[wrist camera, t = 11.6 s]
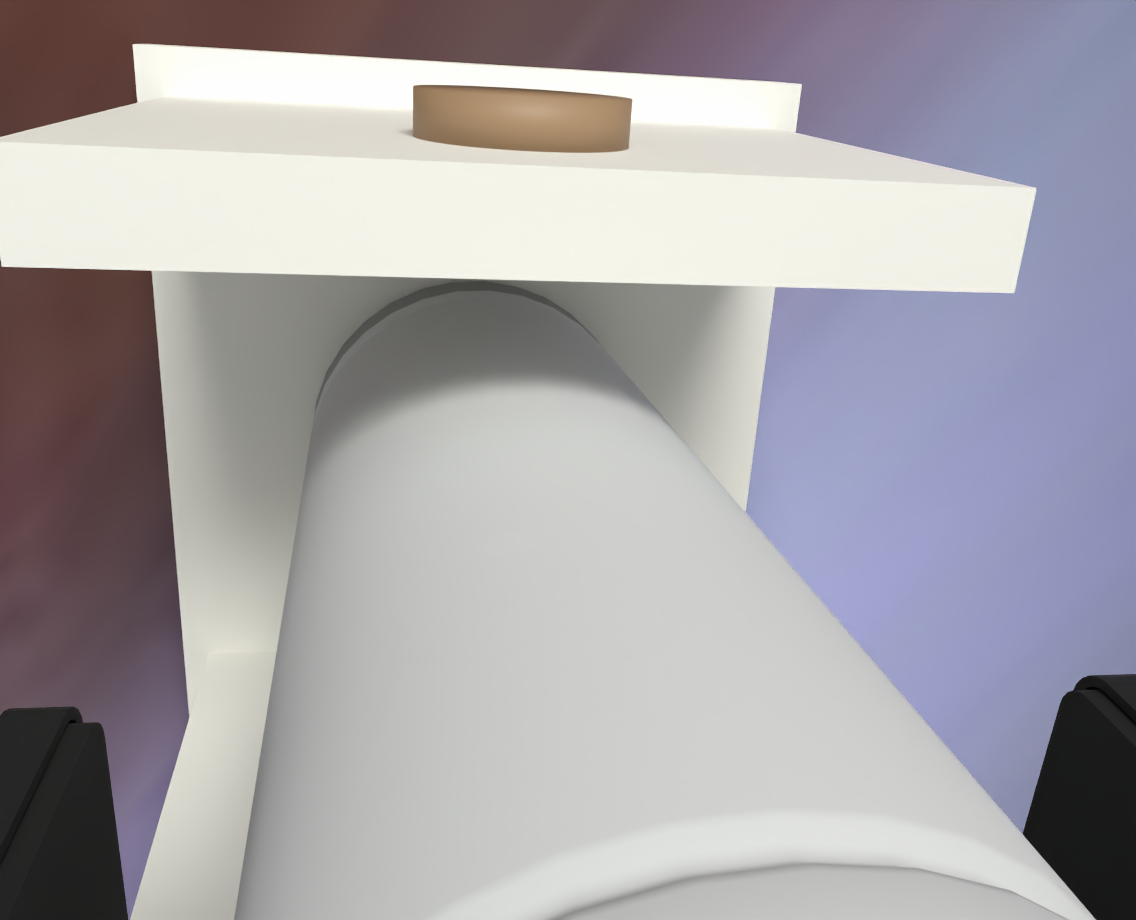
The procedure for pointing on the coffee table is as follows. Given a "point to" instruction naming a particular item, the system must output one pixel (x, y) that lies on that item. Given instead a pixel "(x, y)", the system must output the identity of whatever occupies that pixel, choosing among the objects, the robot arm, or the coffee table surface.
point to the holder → (430, 258)
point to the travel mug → (578, 669)
